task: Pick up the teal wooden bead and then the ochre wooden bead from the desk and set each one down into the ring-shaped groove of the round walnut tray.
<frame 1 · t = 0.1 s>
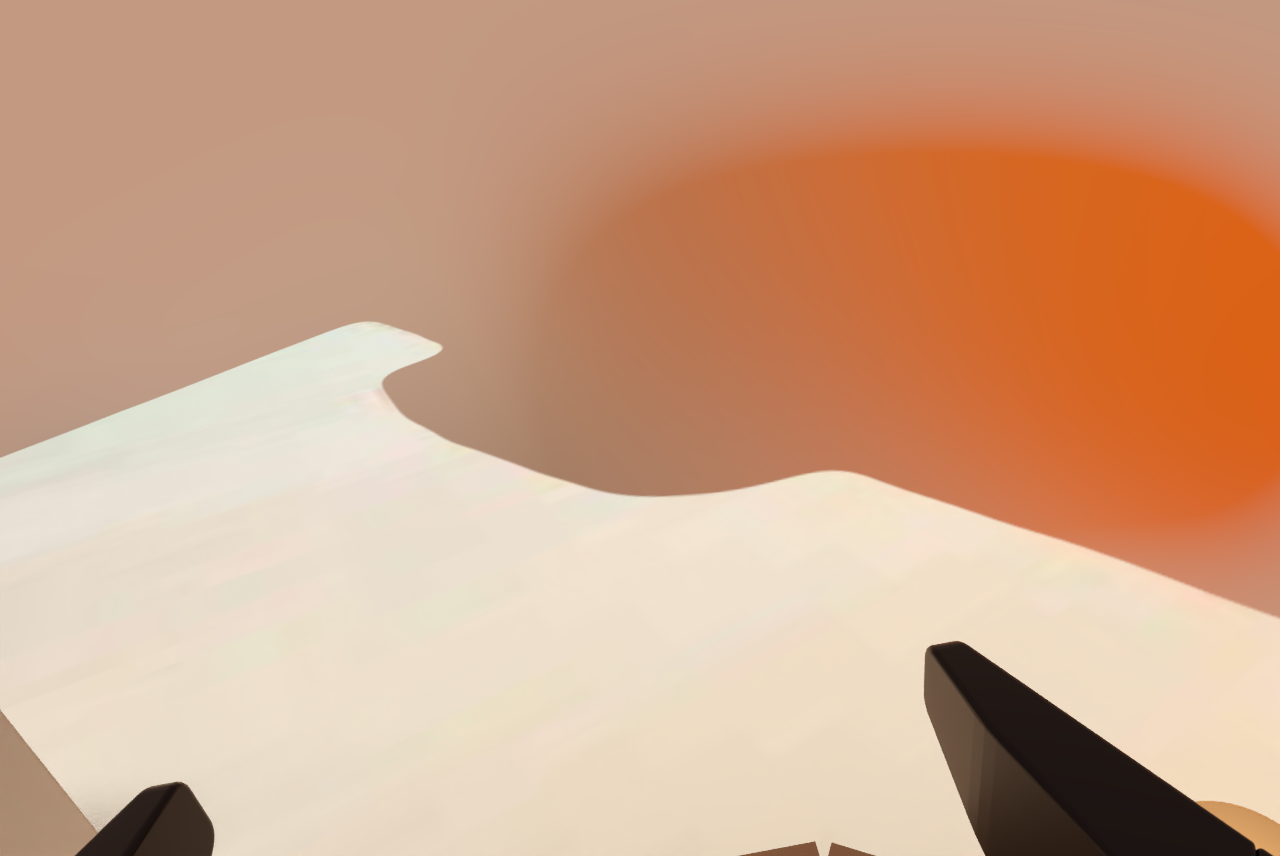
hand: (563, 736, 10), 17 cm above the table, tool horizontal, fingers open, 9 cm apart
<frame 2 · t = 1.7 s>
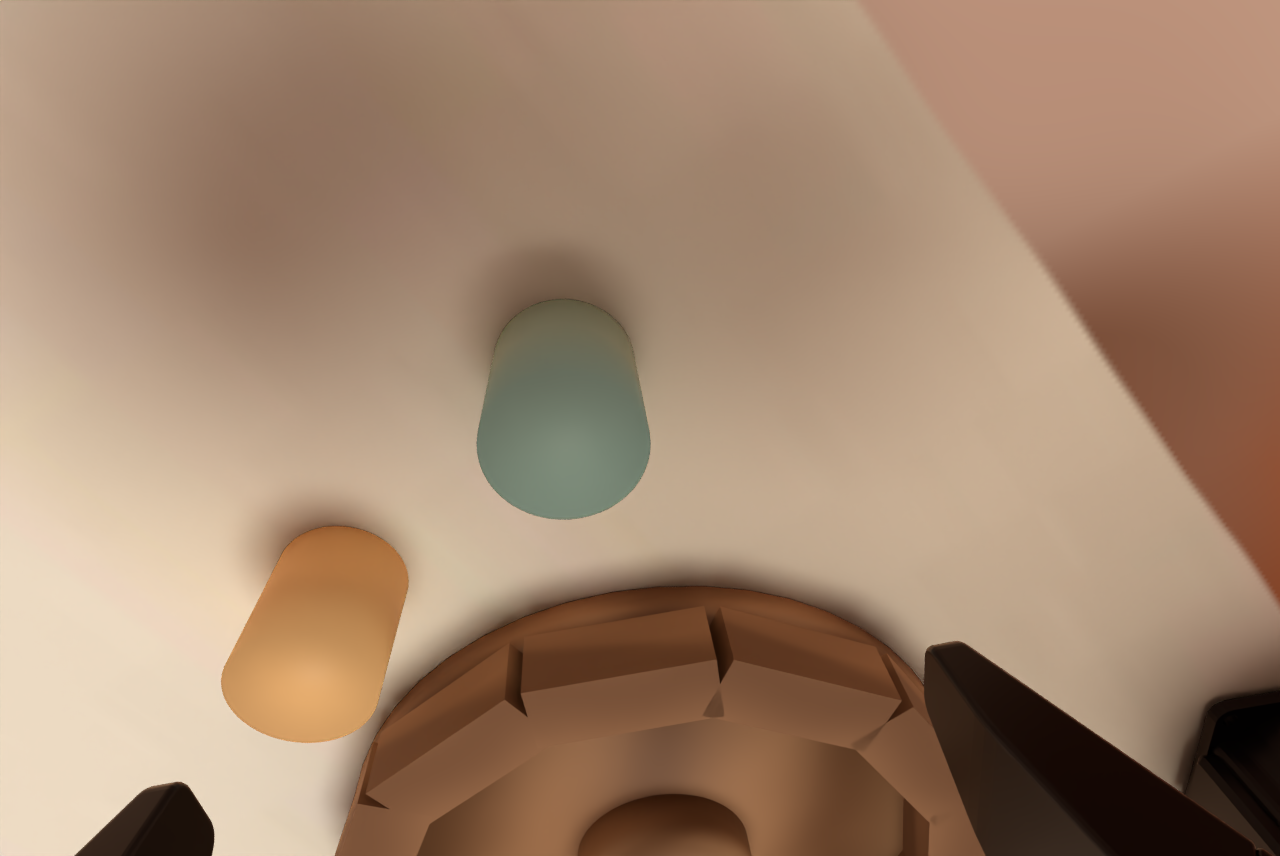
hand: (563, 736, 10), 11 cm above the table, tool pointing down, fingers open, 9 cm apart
bead b: (343, 578, 22), on the table
bead a: (564, 366, 19), on the table
groove tray: (659, 818, 27), on the table
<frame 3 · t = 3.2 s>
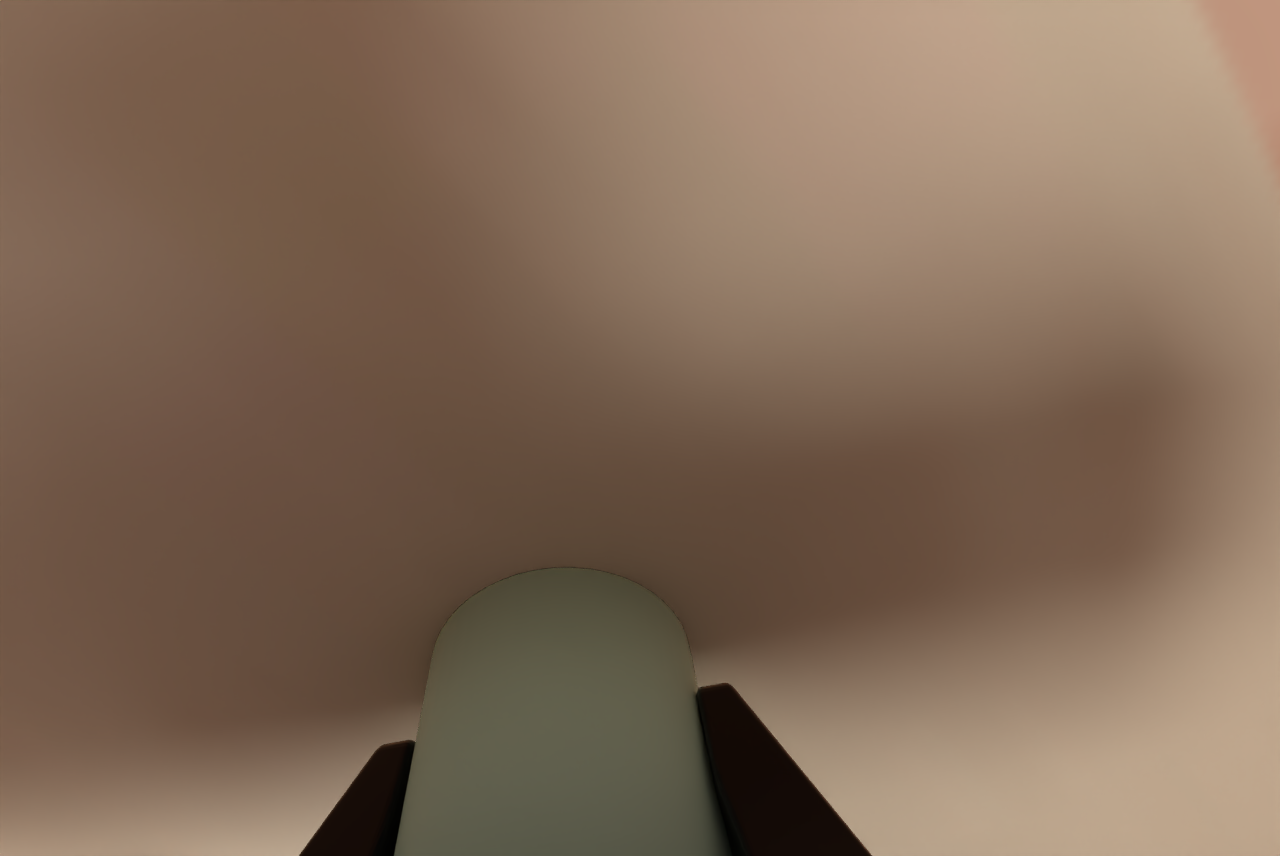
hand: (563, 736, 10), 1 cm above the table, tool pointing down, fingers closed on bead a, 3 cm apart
bead a: (562, 670, 11), on the table, touching gripper
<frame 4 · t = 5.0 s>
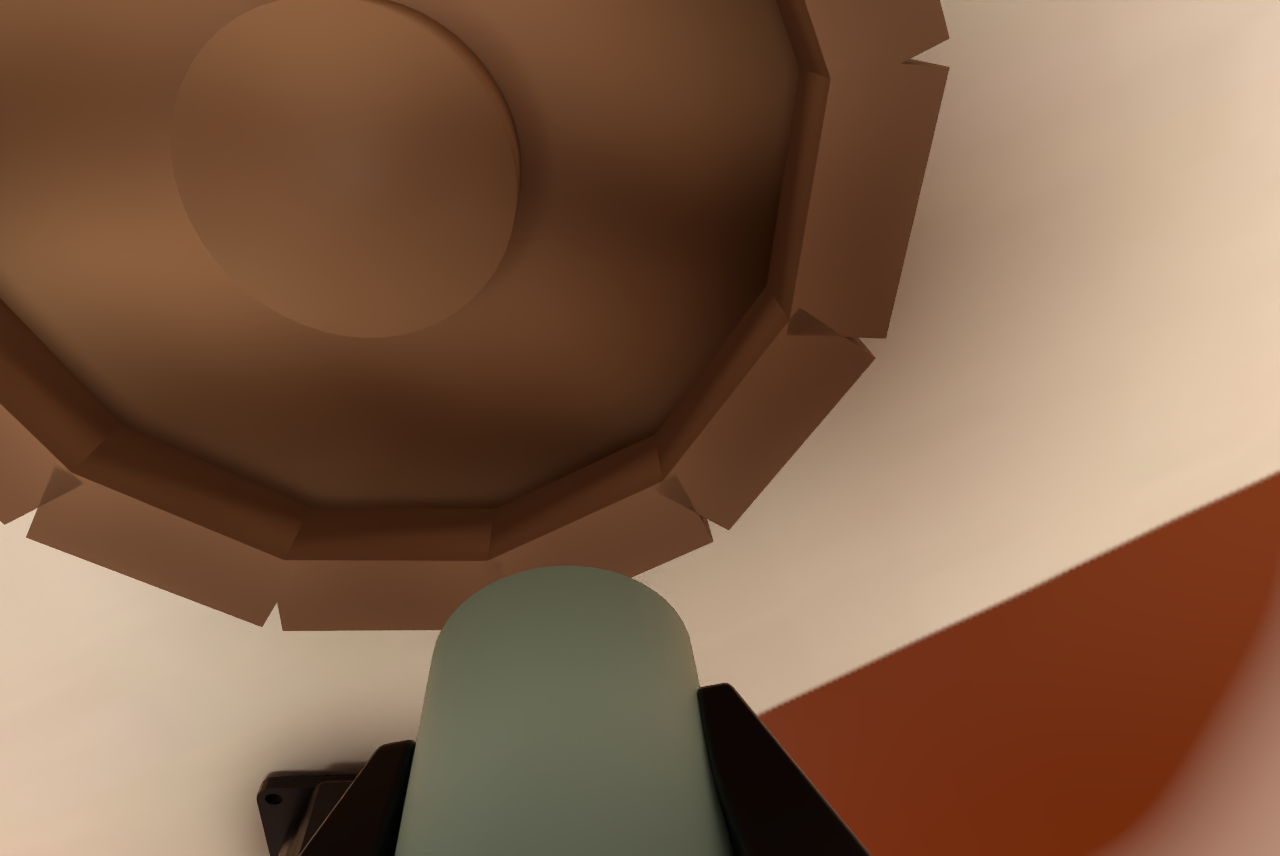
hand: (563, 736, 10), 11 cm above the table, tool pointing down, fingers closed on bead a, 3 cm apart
bead a: (564, 669, 10), point 10 cm above the table, touching gripper
groove tray: (385, 150, 16), on the table
when the fingers open (4 cm above the table, at t = 6.8 s): bead a drops 1 cm, resting on groove tray.
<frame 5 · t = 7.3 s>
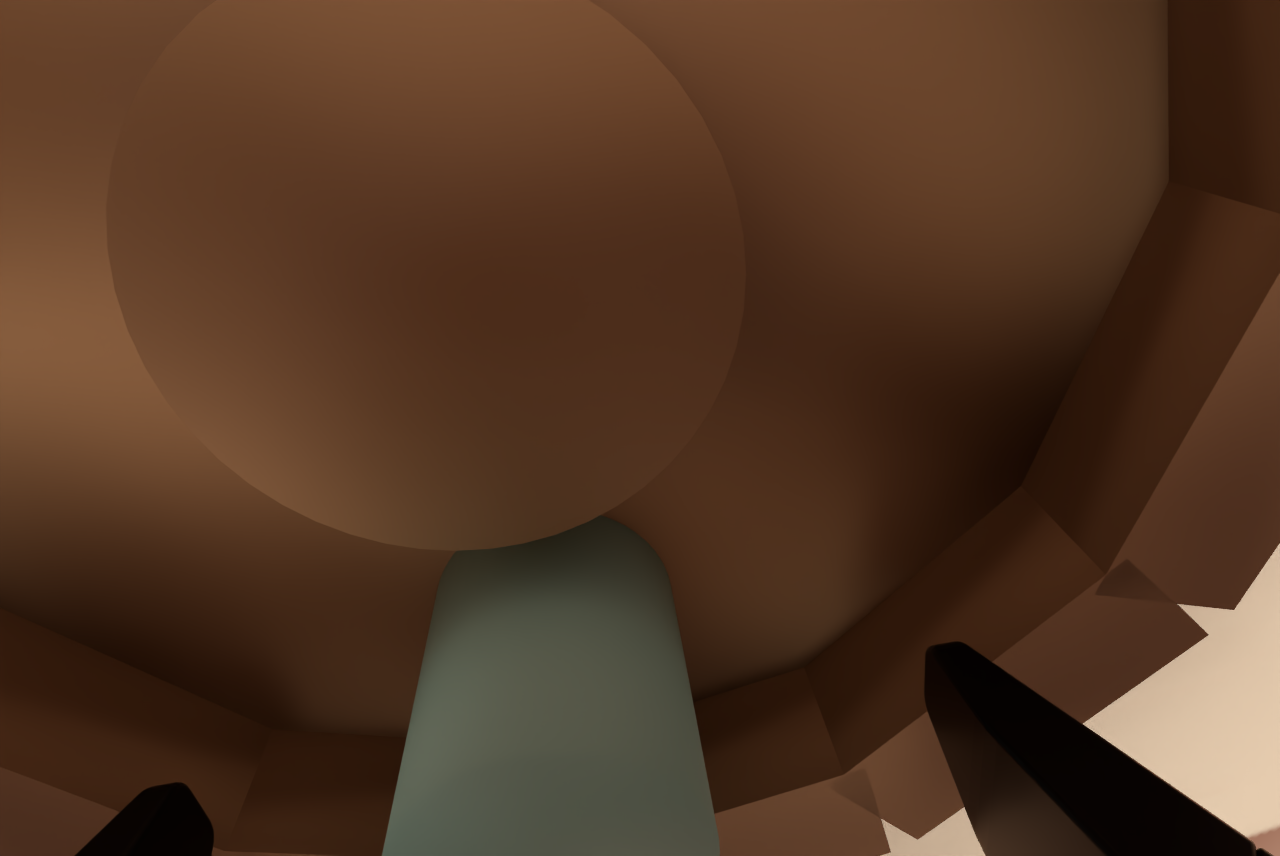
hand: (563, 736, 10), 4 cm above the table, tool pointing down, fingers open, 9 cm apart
bead a: (555, 606, 12), point 1 cm above the table, touching groove tray
groove tray: (474, 217, 10), on the table
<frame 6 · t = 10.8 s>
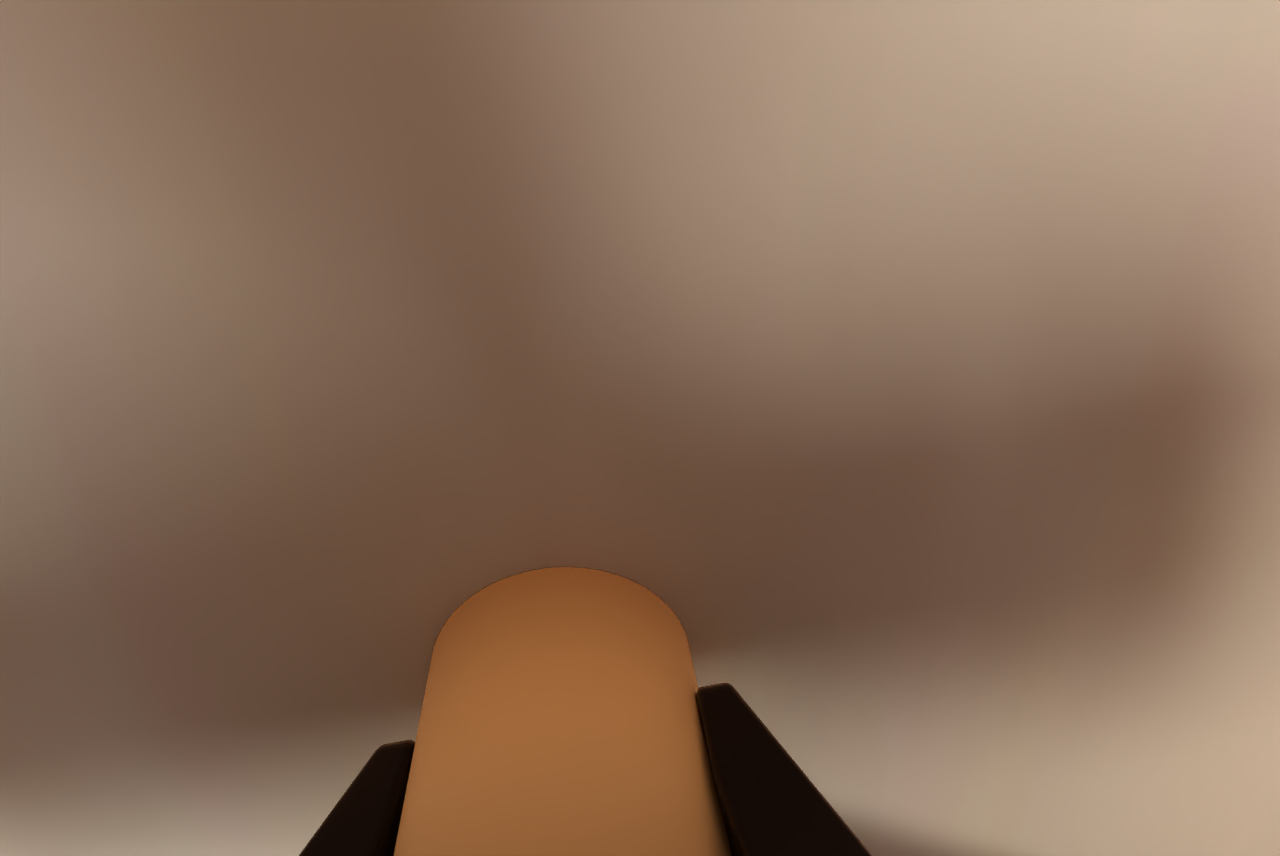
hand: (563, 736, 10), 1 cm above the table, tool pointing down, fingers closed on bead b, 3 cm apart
bead b: (562, 670, 11), on the table, touching gripper
when the fingers open (4 cm above the table, at t = 13.7 s): bead b drops 1 cm, resting on groove tray.
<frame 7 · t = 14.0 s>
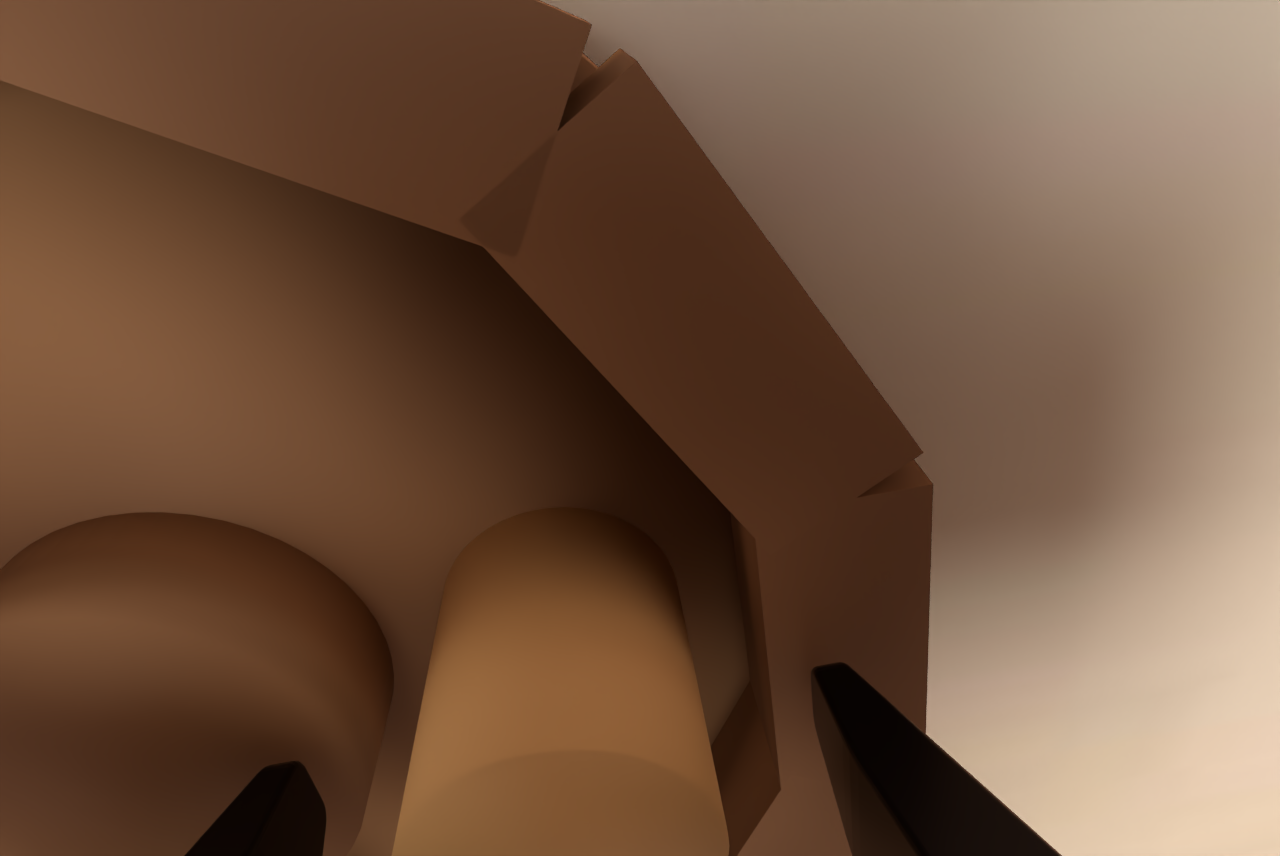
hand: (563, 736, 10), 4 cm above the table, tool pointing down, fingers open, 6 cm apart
bead b: (562, 605, 12), point 1 cm above the table, touching groove tray
groove tray: (225, 617, 13), on the table
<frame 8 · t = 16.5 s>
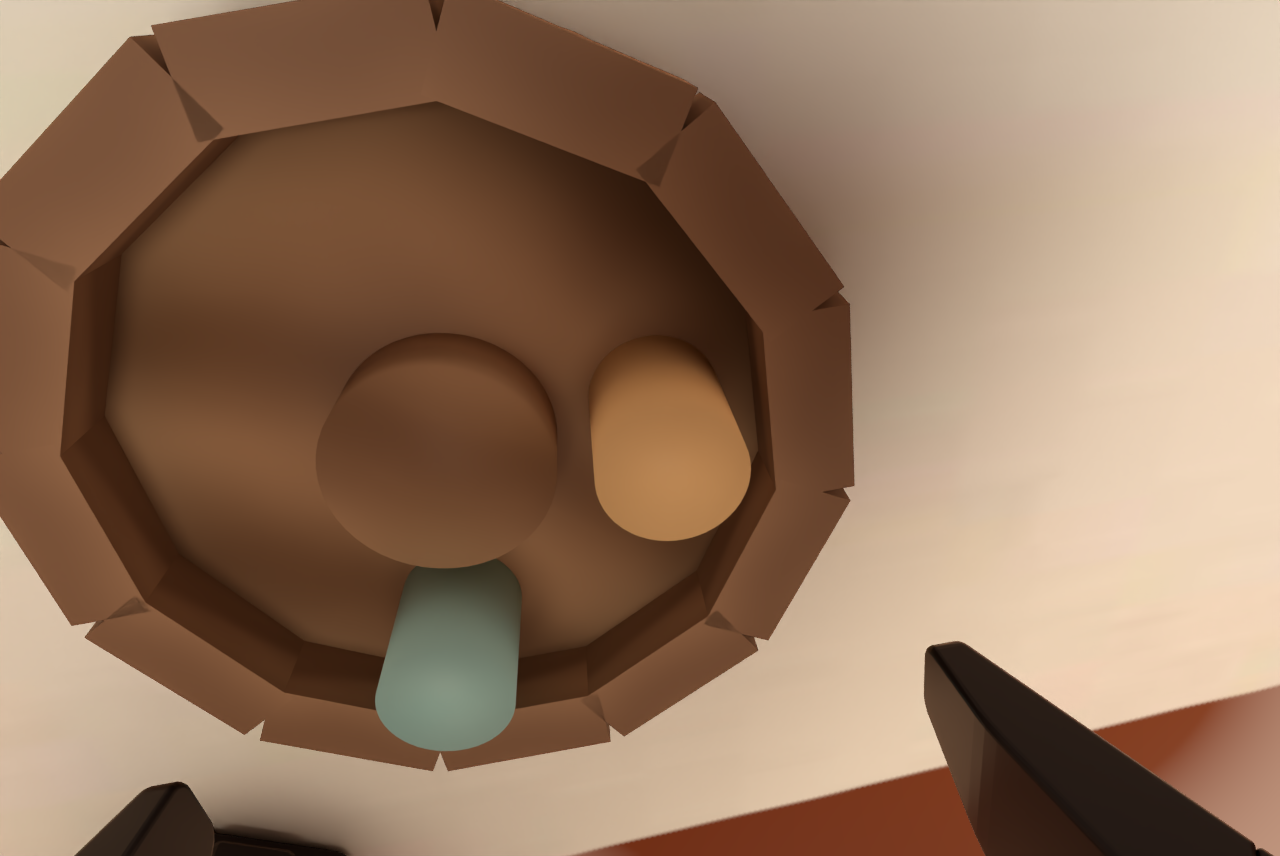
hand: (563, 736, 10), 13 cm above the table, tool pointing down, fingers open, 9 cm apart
bead b: (653, 396, 21), point 1 cm above the table, touching groove tray
bead a: (462, 597, 23), point 1 cm above the table, touching groove tray
groove tray: (454, 413, 22), on the table
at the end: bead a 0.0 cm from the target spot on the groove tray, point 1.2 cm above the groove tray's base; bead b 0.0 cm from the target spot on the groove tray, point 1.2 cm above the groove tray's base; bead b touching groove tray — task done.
